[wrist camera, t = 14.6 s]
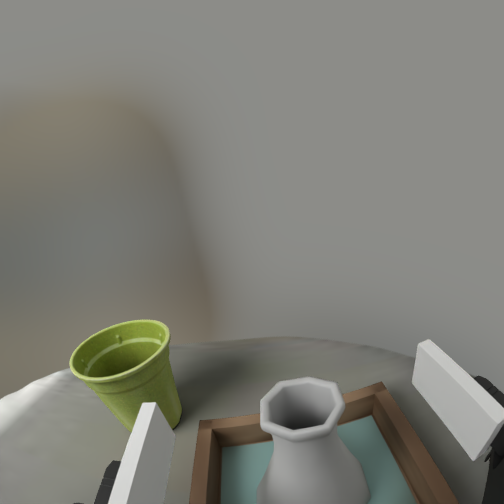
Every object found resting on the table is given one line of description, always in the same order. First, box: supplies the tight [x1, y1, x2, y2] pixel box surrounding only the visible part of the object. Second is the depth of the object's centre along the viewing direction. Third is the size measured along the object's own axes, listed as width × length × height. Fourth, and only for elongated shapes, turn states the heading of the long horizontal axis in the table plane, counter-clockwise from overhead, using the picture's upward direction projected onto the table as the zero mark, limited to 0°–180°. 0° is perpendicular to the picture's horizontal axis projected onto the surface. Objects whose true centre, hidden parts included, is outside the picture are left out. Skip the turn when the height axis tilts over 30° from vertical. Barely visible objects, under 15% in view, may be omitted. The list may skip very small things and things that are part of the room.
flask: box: [256, 376, 371, 504], centre depth 10 cm, size 7×7×10 cm
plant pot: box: [70, 320, 182, 433], centre depth 20 cm, size 9×9×9 cm
